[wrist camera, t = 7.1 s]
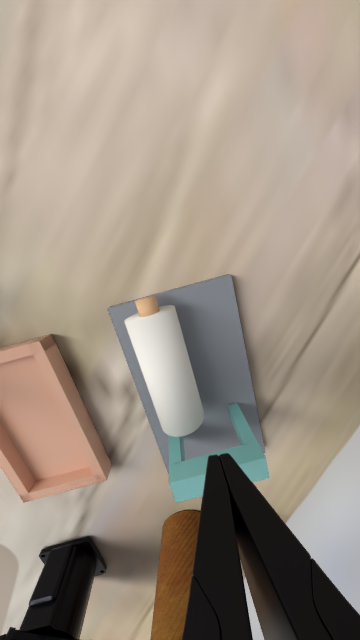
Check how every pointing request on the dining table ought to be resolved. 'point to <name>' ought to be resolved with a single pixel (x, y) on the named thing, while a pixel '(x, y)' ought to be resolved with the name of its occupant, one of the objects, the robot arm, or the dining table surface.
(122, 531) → the dining table surface
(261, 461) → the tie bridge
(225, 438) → the board
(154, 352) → the white bottle
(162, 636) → the disposable coffee cup
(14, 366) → the tray
